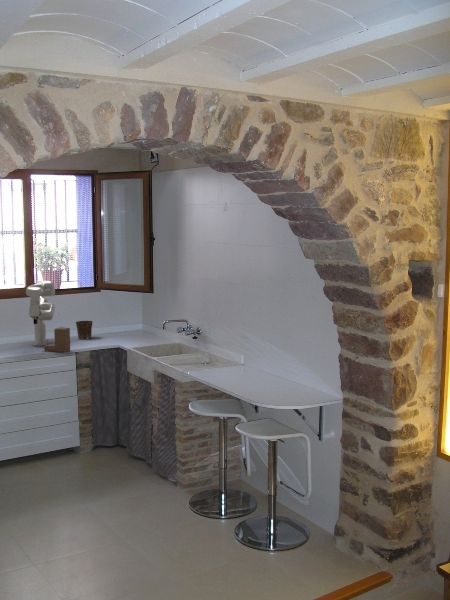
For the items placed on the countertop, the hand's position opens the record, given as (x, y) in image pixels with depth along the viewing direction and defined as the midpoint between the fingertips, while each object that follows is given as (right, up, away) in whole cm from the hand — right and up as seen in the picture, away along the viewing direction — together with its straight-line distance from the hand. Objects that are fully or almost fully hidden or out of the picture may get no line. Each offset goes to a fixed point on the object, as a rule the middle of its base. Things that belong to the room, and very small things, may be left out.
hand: (35, 323), depth 587 cm
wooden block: (+26, -23, -9) cm, 36 cm away
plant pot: (+31, -16, +55) cm, 66 cm away
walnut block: (+16, -23, -5) cm, 29 cm away
